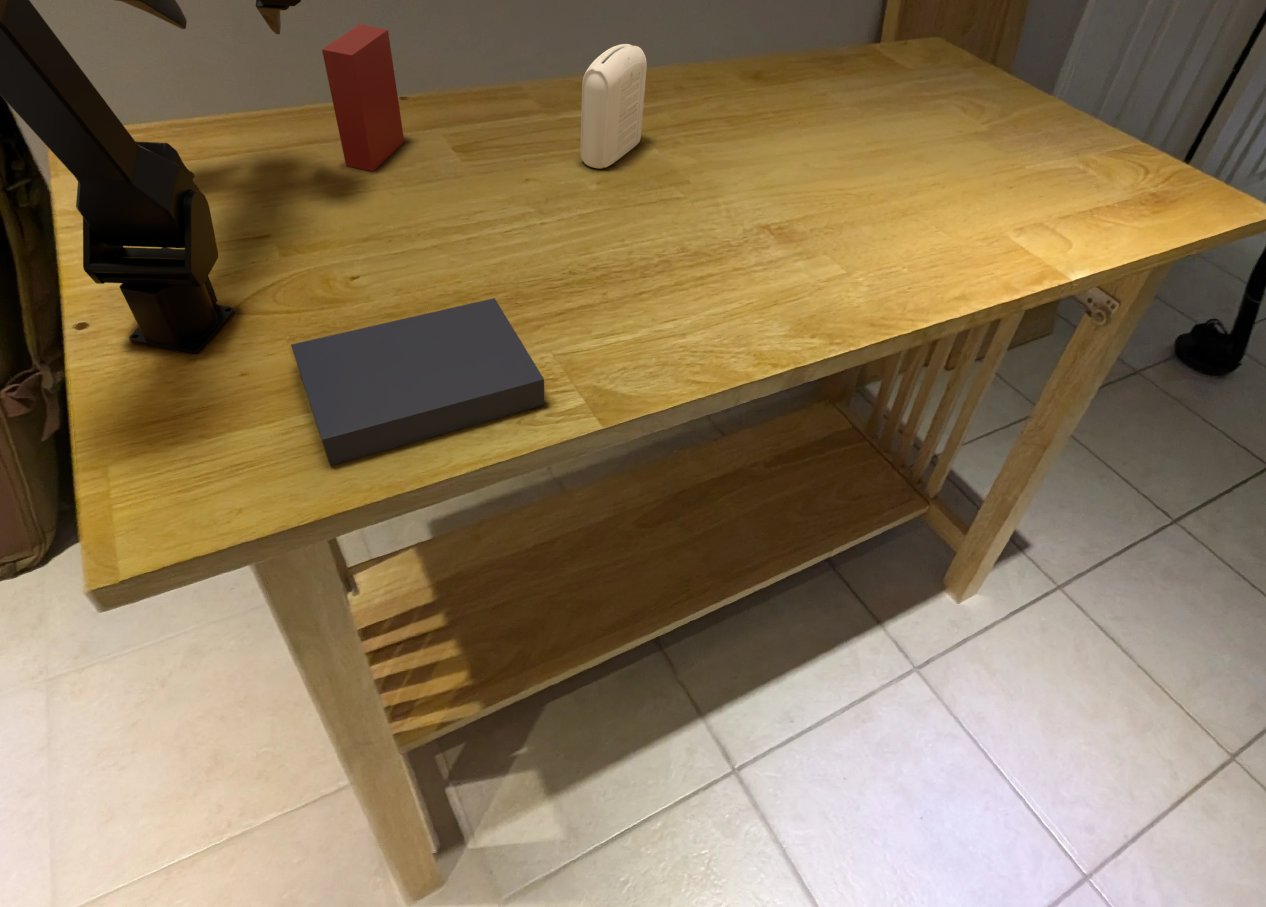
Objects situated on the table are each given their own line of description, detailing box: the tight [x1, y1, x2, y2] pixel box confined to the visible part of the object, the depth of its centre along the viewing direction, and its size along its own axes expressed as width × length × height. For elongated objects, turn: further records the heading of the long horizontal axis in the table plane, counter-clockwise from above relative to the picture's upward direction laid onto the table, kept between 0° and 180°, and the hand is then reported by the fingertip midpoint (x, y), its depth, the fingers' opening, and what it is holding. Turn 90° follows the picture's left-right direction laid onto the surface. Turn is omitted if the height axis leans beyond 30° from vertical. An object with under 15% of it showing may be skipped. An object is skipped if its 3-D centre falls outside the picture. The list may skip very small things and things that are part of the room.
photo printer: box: [580, 43, 648, 169], centre depth 95 cm, size 10×4×12 cm, turn 151°
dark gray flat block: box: [290, 297, 546, 467], centre depth 67 cm, size 18×12×3 cm, turn 117°
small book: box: [321, 24, 405, 172], centre depth 90 cm, size 8×4×13 cm, turn 165°
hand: (231, 27), depth 80 cm, fingers open, 9 cm apart
